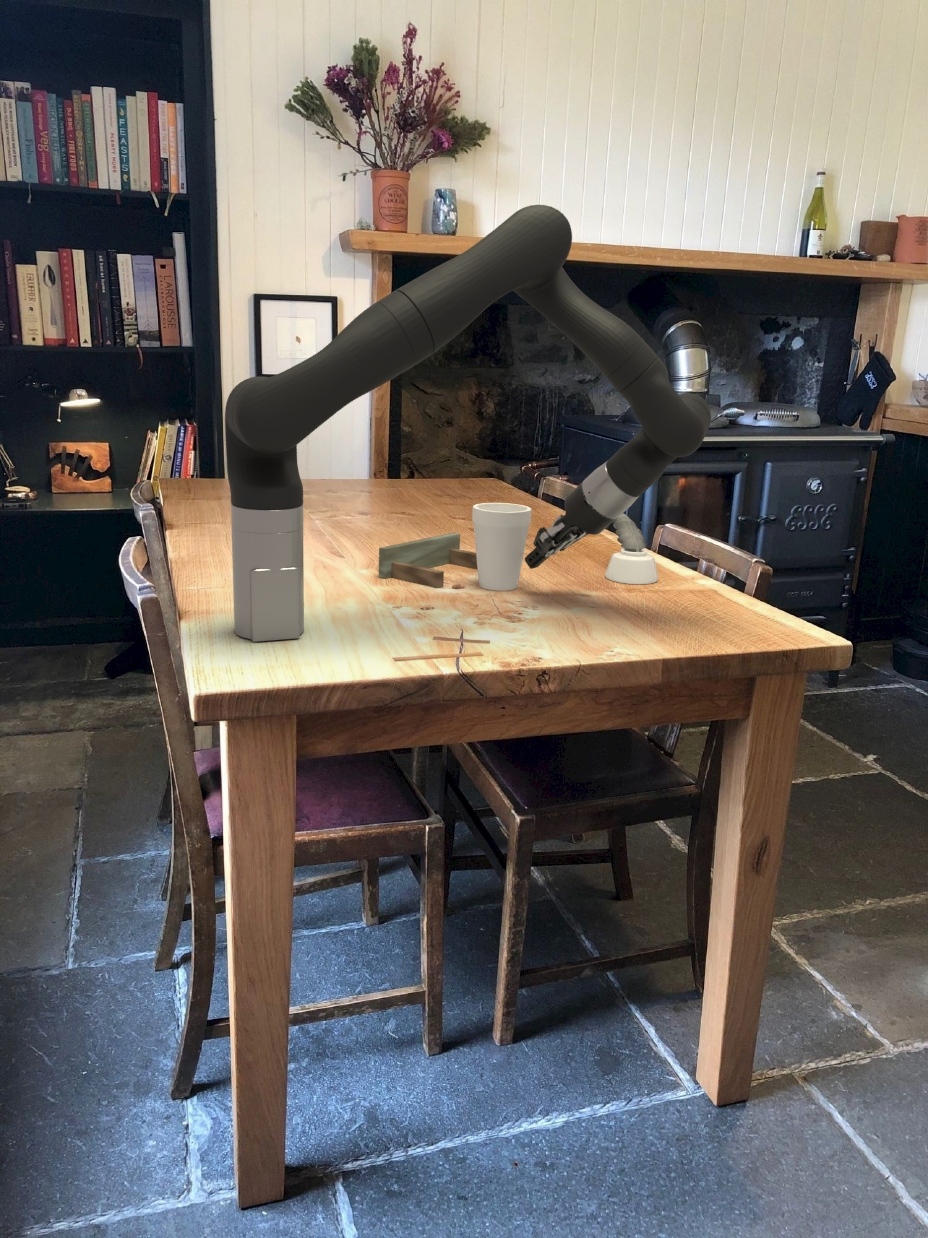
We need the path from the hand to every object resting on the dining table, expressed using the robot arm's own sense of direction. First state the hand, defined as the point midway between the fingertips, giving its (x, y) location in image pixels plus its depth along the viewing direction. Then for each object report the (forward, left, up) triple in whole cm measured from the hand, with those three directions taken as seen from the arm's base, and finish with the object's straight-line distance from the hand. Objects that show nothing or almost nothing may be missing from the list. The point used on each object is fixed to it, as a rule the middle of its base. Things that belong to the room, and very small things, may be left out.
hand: (529, 563), depth 157 cm
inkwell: (+9, -23, -5) cm, 25 cm away
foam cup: (+5, +3, -5) cm, 8 cm away
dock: (+15, +9, -5) cm, 18 cm away
